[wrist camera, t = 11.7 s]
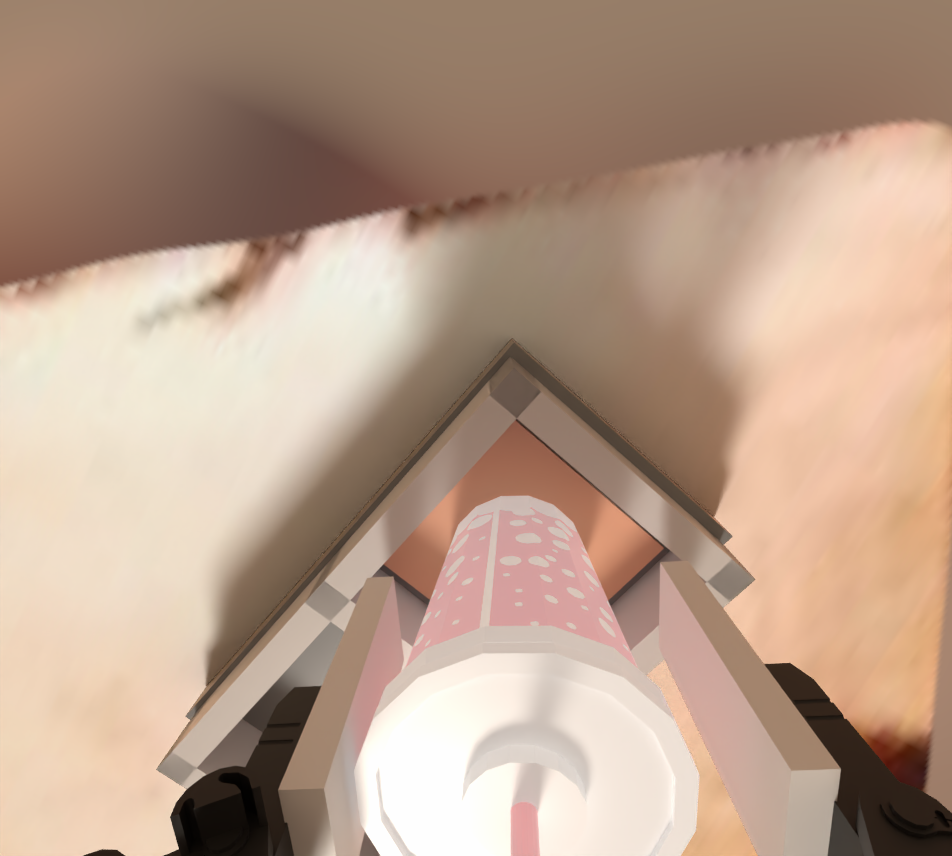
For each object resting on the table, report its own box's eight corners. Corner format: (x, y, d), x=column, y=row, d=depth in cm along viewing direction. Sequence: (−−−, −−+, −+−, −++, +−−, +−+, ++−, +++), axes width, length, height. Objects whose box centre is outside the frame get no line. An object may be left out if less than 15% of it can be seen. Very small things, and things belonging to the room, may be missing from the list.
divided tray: (205, 688, 22) (145, 773, 18) (511, 338, 18) (518, 351, 14) (393, 816, 24) (374, 920, 20) (714, 517, 20) (770, 574, 16)
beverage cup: (452, 650, 19) (315, 1514, 6) (406, 494, 18) (77, 1134, 4) (622, 619, 18) (940, 1523, 5) (588, 454, 17) (896, 1070, 4)
